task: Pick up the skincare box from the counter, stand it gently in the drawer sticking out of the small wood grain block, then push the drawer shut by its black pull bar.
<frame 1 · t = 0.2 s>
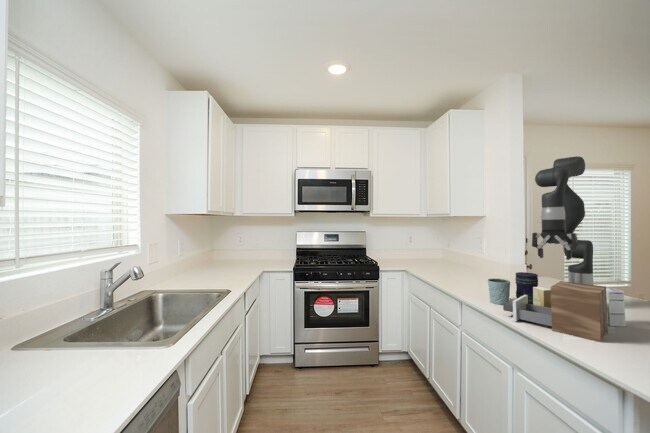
hand: (554, 258, 114), 28 cm above the worktop, fingers open, 8 cm apart
syrup box: (612, 324, 118), on the worktop
skincare box: (542, 314, 131), on the worktop
storage jar: (527, 302, 150), on the worktop
wood grain block: (579, 331, 112), on the worktop
drawer: (530, 309, 124), point 5 cm above the worktop, slide at 12.0 cm
teal planter pot: (499, 303, 150), on the worktop
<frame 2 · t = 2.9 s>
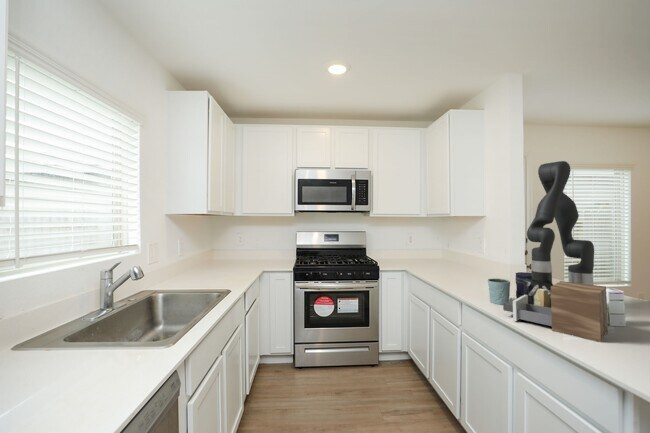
hand: (542, 305, 131), 4 cm above the worktop, fingers closed on skincare box, 7 cm apart
skincare box: (542, 314, 131), on the worktop, touching gripper
everything else where it was.
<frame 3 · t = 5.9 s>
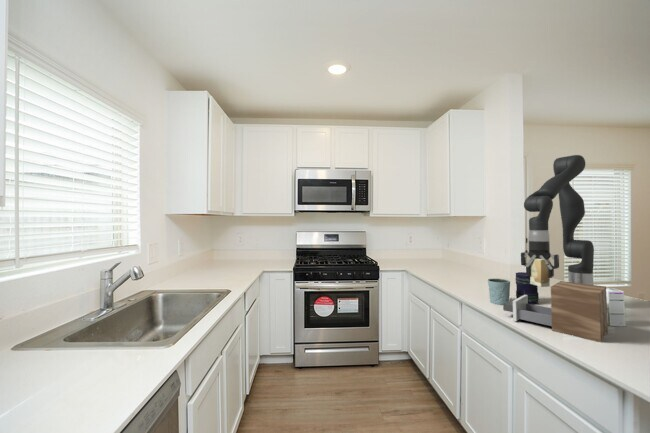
hand: (539, 276, 128), 18 cm above the worktop, fingers closed on skincare box, 7 cm apart
skincare box: (540, 285, 128), point 14 cm above the worktop, touching gripper
everything else where it was.
when the fingers open (8 cm above the worktop, at t = 9.1 s): skincare box drops 2 cm, resting on drawer.
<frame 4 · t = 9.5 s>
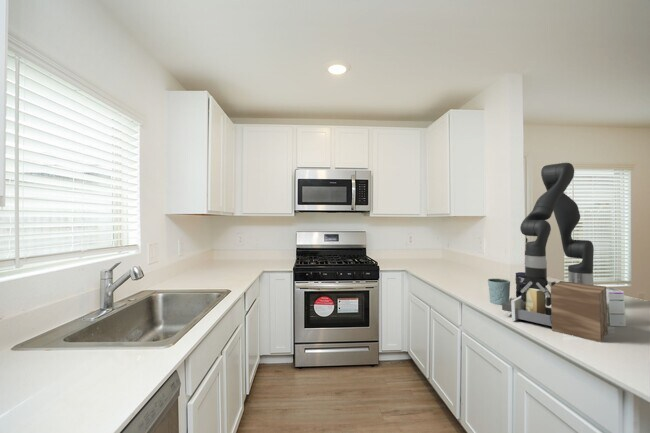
hand: (536, 303, 123), 8 cm above the worktop, fingers open, 8 cm apart
skincare box: (535, 316, 123), point 2 cm above the worktop, touching drawer
drawer: (529, 309, 125), point 5 cm above the worktop, slide at 12.5 cm, touching skincare box
everything else where it was.
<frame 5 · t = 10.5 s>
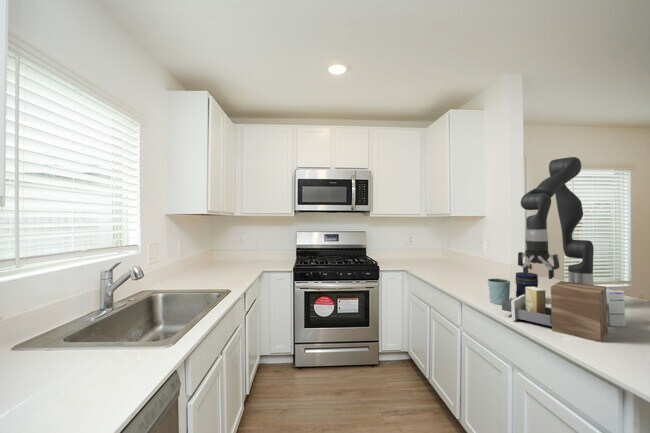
hand: (538, 277, 122), 19 cm above the worktop, fingers open, 8 cm apart
nothing on the worktop moved.
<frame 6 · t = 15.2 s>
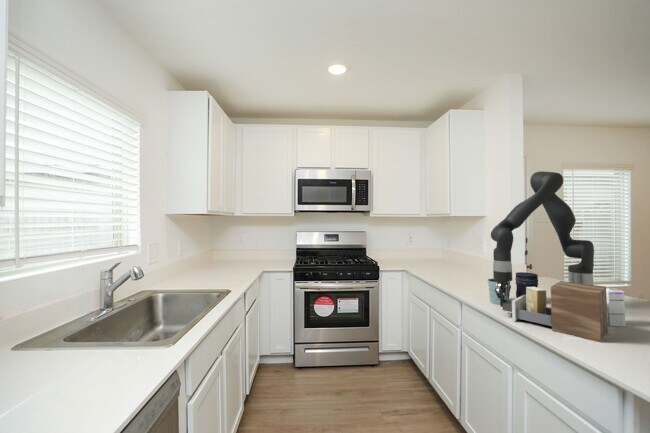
hand: (503, 306, 133), 3 cm above the worktop, fingers closed
drawer: (530, 309, 124), point 5 cm above the worktop, slide at 12.3 cm, touching gripper, skincare box
everything else where it was.
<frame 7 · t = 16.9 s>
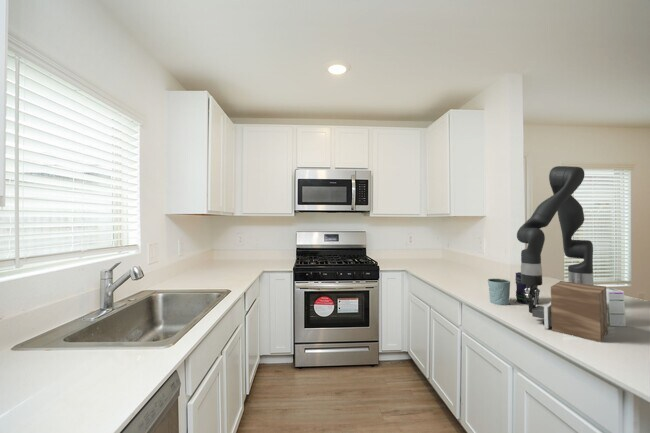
hand: (532, 312, 124), 3 cm above the worktop, fingers closed
skincare box: (570, 324, 114), point 2 cm above the worktop, touching drawer
drawer: (563, 315, 116), point 5 cm above the worktop, slide at 0.9 cm, touching skincare box
everything else where it was.
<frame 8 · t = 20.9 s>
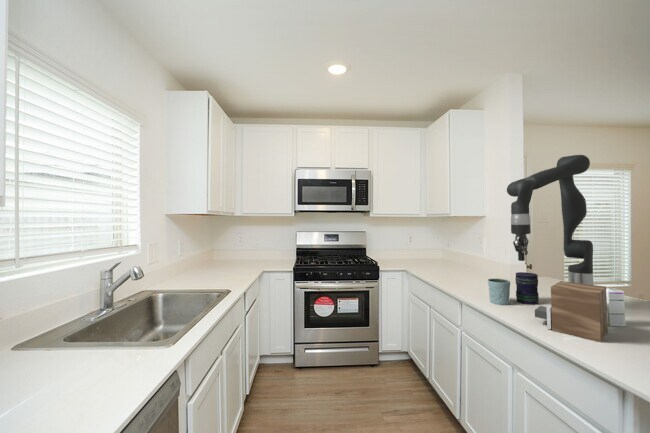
hand: (521, 260, 132), 25 cm above the worktop, fingers closed
drawer: (566, 316, 115), point 5 cm above the worktop, slide at 0.0 cm, touching skincare box
everything else where it was.
at the end: drawer slide at 0.1 cm; skincare box inside the target area (2.1 cm from its centre), point 2.0 cm above the worktop; skincare box tilted 0° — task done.
